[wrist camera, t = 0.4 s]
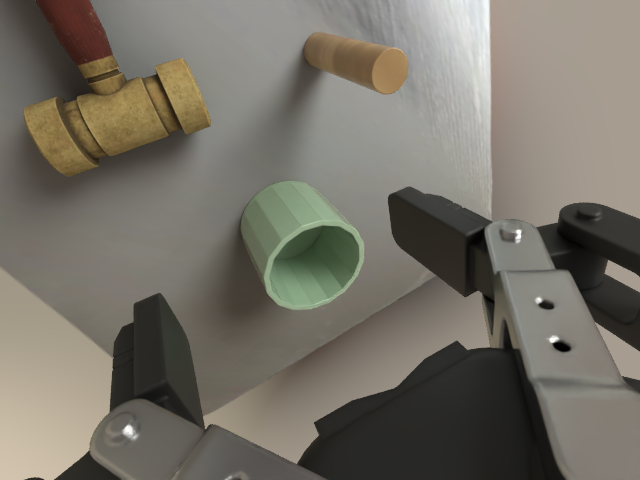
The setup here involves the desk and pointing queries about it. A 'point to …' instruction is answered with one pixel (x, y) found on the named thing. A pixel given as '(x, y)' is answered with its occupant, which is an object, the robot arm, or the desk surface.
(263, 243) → the cup
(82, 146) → the gavel
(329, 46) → the stick
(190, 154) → the desk surface
